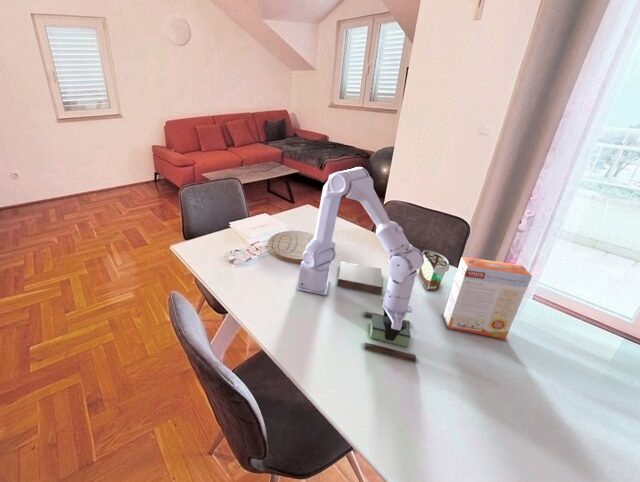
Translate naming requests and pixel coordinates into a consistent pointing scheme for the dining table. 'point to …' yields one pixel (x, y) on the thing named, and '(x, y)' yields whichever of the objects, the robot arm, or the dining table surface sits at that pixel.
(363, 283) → the white-topped slab
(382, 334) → the box
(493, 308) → the cracker box
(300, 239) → the trivet
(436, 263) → the food container
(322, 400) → the dining table surface
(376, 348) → the bay rails
